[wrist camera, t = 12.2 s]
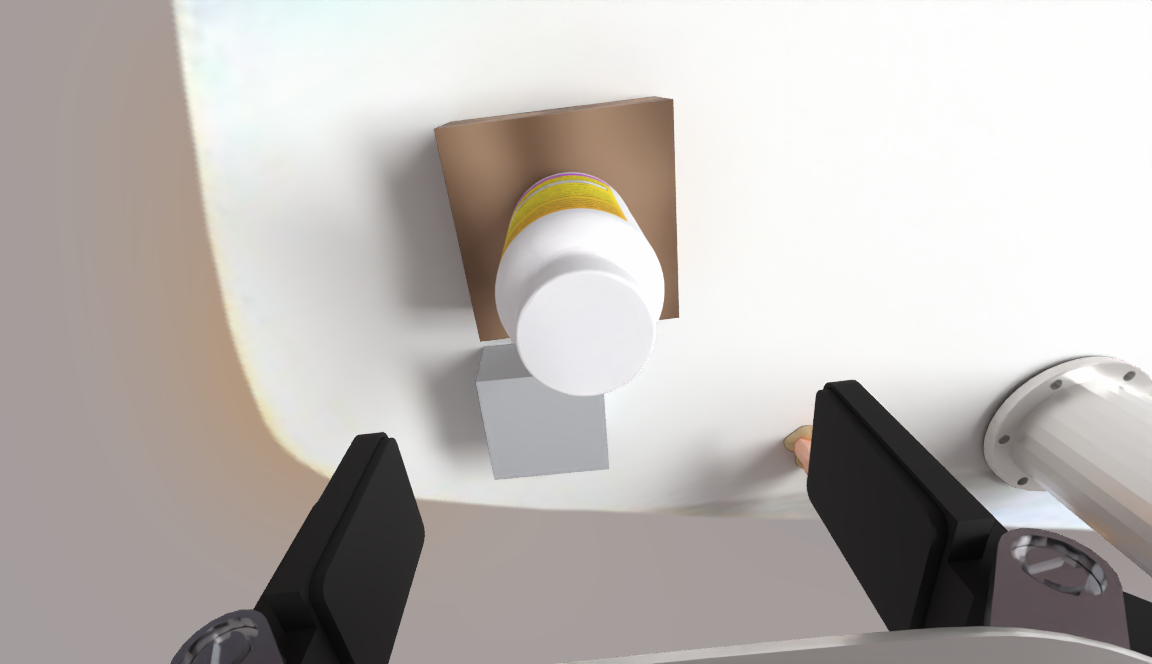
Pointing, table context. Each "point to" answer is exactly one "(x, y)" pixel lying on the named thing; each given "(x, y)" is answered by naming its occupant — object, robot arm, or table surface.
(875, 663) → the robot arm
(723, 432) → the table surface
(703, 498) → the table surface
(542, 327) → the supplement bottle
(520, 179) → the walnut block
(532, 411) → the grey block
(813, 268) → the table surface
